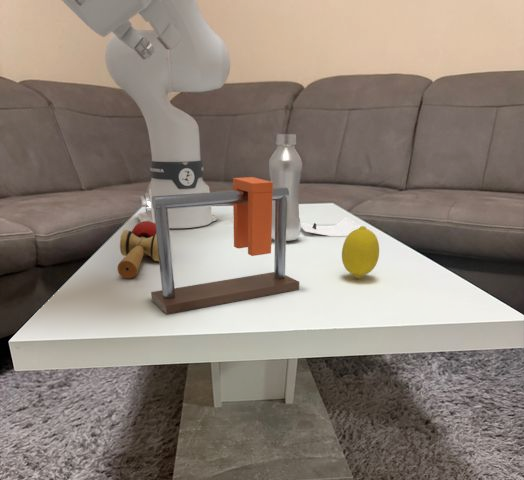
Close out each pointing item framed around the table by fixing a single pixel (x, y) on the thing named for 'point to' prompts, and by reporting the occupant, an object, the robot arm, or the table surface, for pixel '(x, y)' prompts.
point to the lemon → (360, 252)
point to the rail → (226, 289)
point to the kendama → (137, 247)
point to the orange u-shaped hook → (253, 216)
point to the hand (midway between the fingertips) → (161, 50)
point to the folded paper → (332, 228)
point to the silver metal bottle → (287, 181)
